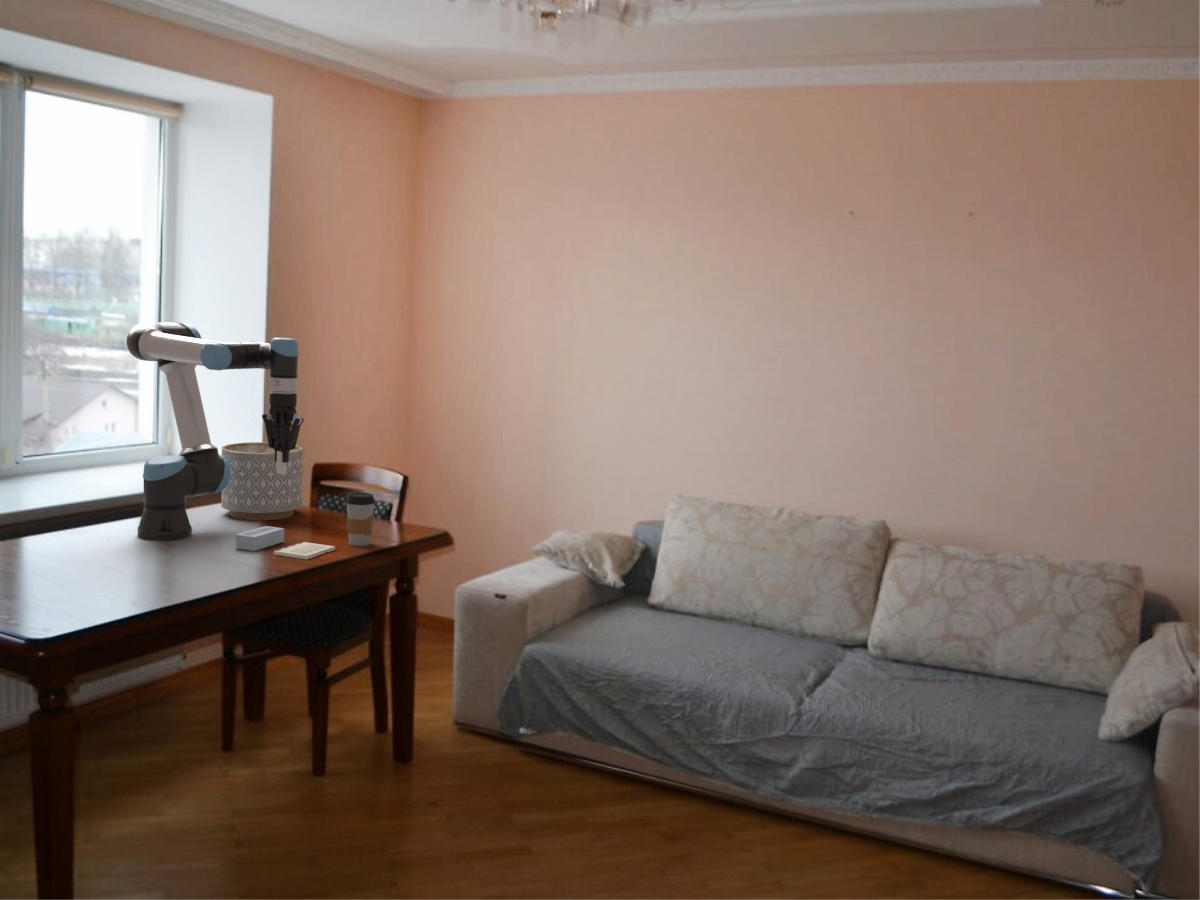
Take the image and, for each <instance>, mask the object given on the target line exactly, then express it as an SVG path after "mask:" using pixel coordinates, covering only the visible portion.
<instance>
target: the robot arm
mask: <svg viewBox="0 0 1200 900" xmlns="http://www.w3.org/2000/svg"><path fill="white" fill-rule="evenodd" d="M298 345H299V343H298V340H296V339H295V338H291V337H290V338H288V337H272V338H271V340H270V343H267V342H262V341H258V340H257V341H256V340H255V341H254V340H250V341H249V340H248V341H244V342H223V341H215V340H208V339H204V338H203V339H202V335H201V334H200V332H199V330H198V329H197V328H196V327H195V326H193V325H192V324H190V323H187V322H185V323H184V322H179V321H174V322H173V321H172V322H149V321H147V322H142V323H139V324H136V325H135V326H133V327H132V328H131V329H130V331H129V332H128V333H127V336H126V347H127V350H128V352H129V353H130V354H131V355H132V356H133V357H134V358H136V359H138V360H140V361H145V362H157V365H158V369H159V370H160V371H161V372H162V373H164V374H165V377H166V381H167V387H168V391H169V395H170V399H171V405H172V409H173V410H172V411H173V414H174V418H175V423H176V428H177V432H178V437H179V442H180V445H181V451H180V452H179V453H178V454H169V455H161V456H156V457H153V458H150V459H148V460H147V461H146V462H145V463H144V465H143V474H142V479H143V511H142V515H141V518H140V521H139V524H138V526H137V537H138V538H140V539H144V540H150V541H173V540H175V541H176V540H181V539H186V538H188V537H191V536H192V534H193V533H192V532H193V531H192V530H193V529H192V525H191V523H190V519H189V516H188V512H187V510H186V507H187V506H186V499H187V498H191V497H192V498H194V497H199V496H210V495H213V494H217V493H220V492H222V490H223V489H225V487H226V486H227V484H228V482H229V480H230V474H231V471H230V465H229V462H228V460H226V458H225V457H224V456H222V454H219V449H218V447H216V446H215V445H214V444H212V443H211V437H210V433H209V428H208V423H207V420H206V419H207V418H206V414H205V410H204V406H203V401H202V396H201V392H200V387H199V383H198V378H197V373H196V370H195V369H196V367H197V366H201V367H205V368H206V369H207V370H211V371H223V370H244V369H245V370H246V369H247V370H248V369H250V370H251V369H262V370H268V371H269V370H270V372H269V373H270V374H269V391H271V392H269V403H268V404H269V405H270V408H269V410H268V412H267V413H263V414H261V417H262V421H263V422H264V425H265V431H266V438H267V442H268V444H269V447H270V448H273V449H274V450H275V461H277V469H276V473H277V474H283V473H286V471H287V462H288V461H289V451H290V450H293V449H295V447H296V445H297V442H298V438H299V433H300V430H301V425H302V424H303V423H304V418H303V417H300V416H298V415H297V410H296V406H297V405H298V404H297V399H298V394H297V393H296V392H297V391H298V359H299V347H298Z"/></svg>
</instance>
